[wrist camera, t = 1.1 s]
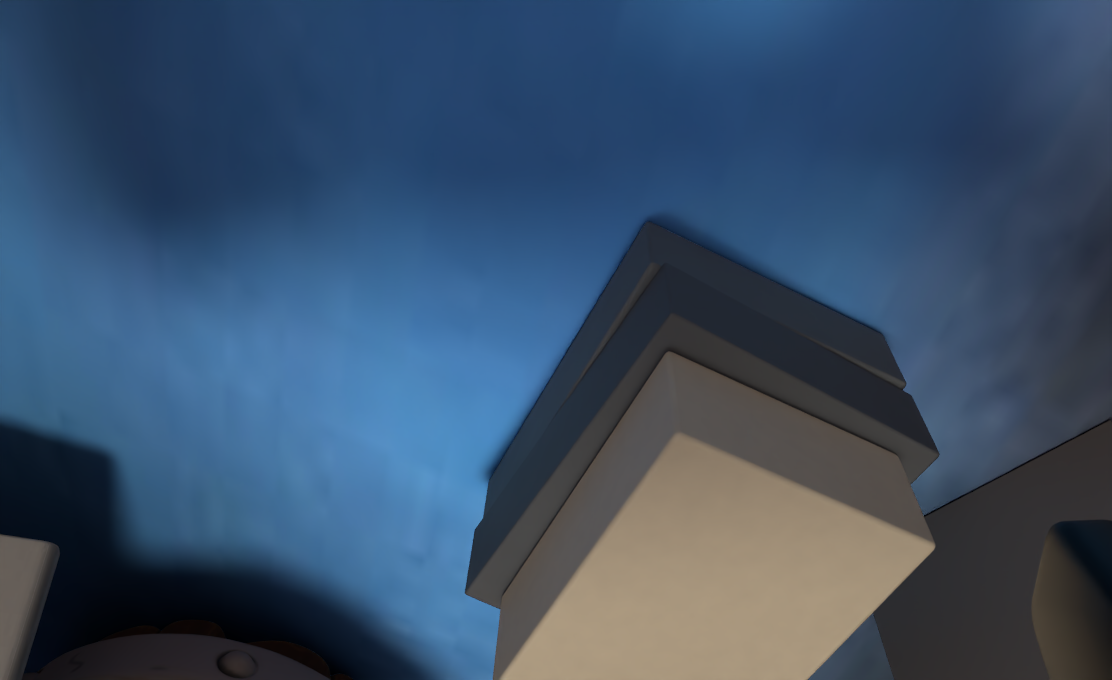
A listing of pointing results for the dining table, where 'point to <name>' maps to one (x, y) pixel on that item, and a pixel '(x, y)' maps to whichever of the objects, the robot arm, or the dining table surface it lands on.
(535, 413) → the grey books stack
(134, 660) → the flowerpot
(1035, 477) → the perfume bottle
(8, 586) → the crown molding
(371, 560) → the dining table surface
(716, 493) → the taupe flat block
